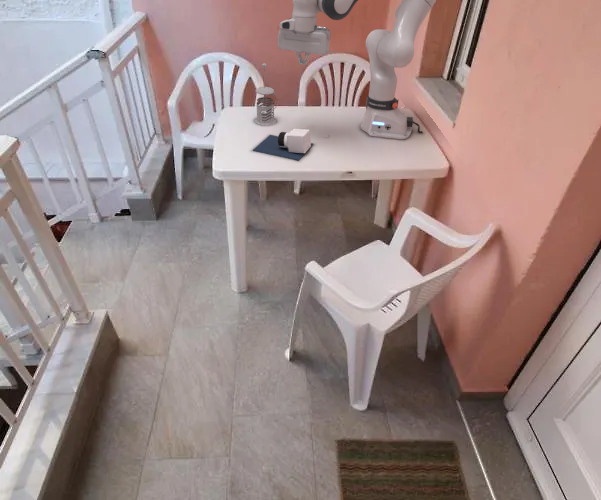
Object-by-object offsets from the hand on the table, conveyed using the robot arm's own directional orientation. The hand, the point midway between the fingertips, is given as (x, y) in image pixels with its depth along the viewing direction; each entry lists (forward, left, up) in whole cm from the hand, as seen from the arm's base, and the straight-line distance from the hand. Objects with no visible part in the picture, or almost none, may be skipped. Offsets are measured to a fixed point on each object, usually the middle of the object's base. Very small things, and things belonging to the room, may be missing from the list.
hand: (302, 64), depth 160 cm
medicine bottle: (-9, +14, -24) cm, 29 cm away
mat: (+2, +14, -29) cm, 32 cm away
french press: (+20, -8, -29) cm, 36 cm away
